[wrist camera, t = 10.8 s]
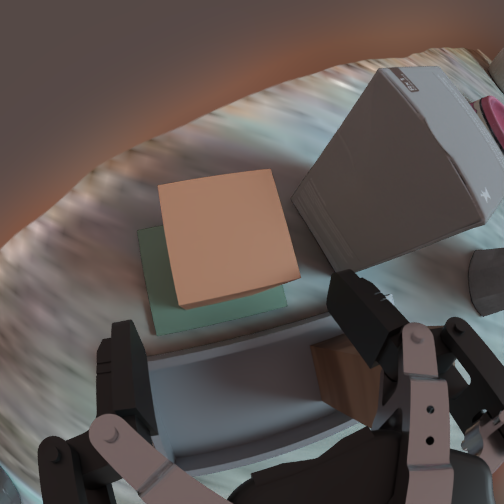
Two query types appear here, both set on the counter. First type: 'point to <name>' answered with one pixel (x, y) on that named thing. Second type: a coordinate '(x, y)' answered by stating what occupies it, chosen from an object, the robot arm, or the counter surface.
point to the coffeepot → (487, 280)
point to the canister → (498, 70)
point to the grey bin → (243, 398)
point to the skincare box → (401, 171)
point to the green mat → (165, 298)
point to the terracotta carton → (226, 237)
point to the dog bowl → (491, 117)
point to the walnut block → (347, 378)
